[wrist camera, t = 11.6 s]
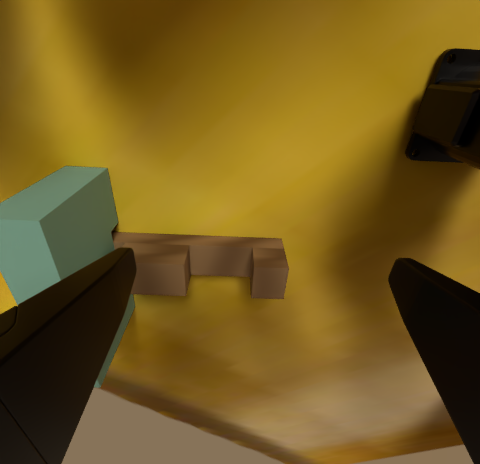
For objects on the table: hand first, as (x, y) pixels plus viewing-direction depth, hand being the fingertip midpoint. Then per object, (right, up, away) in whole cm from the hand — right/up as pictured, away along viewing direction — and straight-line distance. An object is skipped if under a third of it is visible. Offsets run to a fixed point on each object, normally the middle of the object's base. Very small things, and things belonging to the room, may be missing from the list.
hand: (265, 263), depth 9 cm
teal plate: (-12, 0, +14) cm, 19 cm away
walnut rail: (-7, 0, +14) cm, 16 cm away
